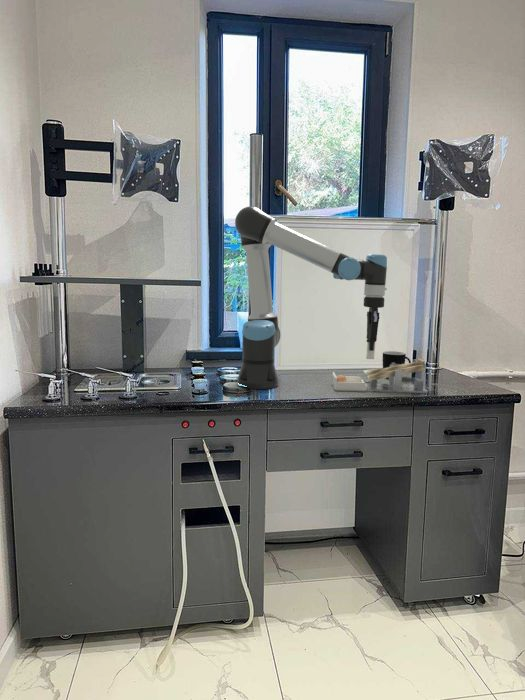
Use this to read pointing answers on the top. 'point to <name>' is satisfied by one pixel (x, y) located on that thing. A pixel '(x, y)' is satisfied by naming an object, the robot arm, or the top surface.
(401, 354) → the mug
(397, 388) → the stand
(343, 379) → the ball
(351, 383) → the dish
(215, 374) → the top surface
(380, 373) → the wooden ramp
